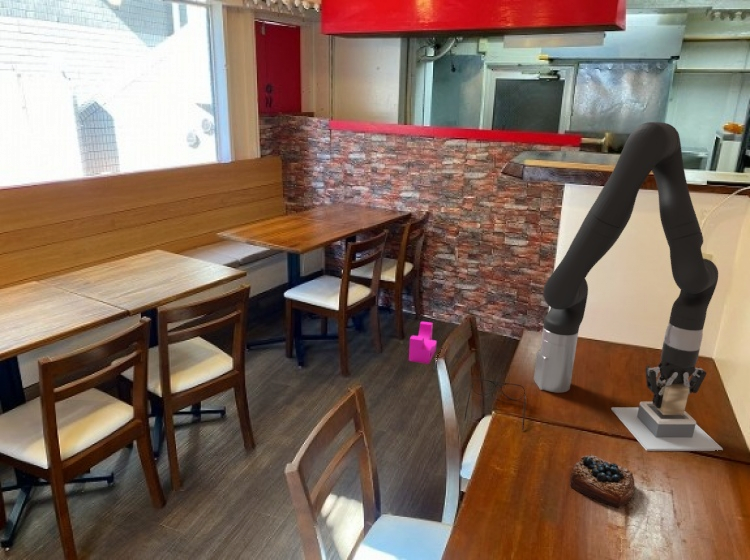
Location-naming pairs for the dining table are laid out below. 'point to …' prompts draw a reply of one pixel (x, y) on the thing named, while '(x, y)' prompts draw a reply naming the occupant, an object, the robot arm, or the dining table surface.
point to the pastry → (602, 481)
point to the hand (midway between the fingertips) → (668, 406)
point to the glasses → (502, 392)
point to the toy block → (422, 344)
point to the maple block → (674, 399)
